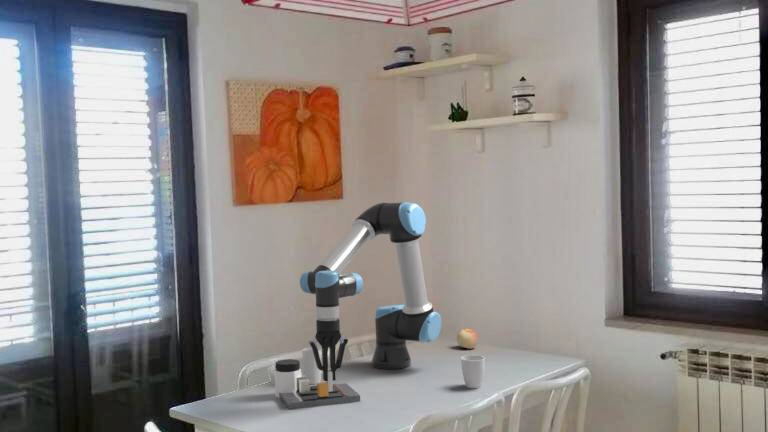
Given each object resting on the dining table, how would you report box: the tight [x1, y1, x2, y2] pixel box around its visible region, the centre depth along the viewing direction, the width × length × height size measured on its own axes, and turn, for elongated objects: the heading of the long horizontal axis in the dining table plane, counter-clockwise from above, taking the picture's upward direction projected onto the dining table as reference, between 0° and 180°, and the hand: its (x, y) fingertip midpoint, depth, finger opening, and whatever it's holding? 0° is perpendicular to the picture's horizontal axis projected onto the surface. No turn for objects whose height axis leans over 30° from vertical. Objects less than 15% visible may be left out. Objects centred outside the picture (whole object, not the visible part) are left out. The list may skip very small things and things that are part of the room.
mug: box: [301, 346, 323, 385], centre depth 293 cm, size 10×7×12 cm, turn 127°
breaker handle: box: [316, 381, 329, 397], centre depth 265 cm, size 3×3×4 cm
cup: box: [460, 354, 486, 389], centre depth 282 cm, size 8×8×10 cm
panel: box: [278, 374, 361, 411], centre depth 271 cm, size 24×17×7 cm
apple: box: [456, 328, 479, 350], centre depth 344 cm, size 9×9×8 cm
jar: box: [274, 358, 302, 399], centre depth 275 cm, size 9×8×12 cm
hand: (329, 390), depth 265 cm, fingers closed
